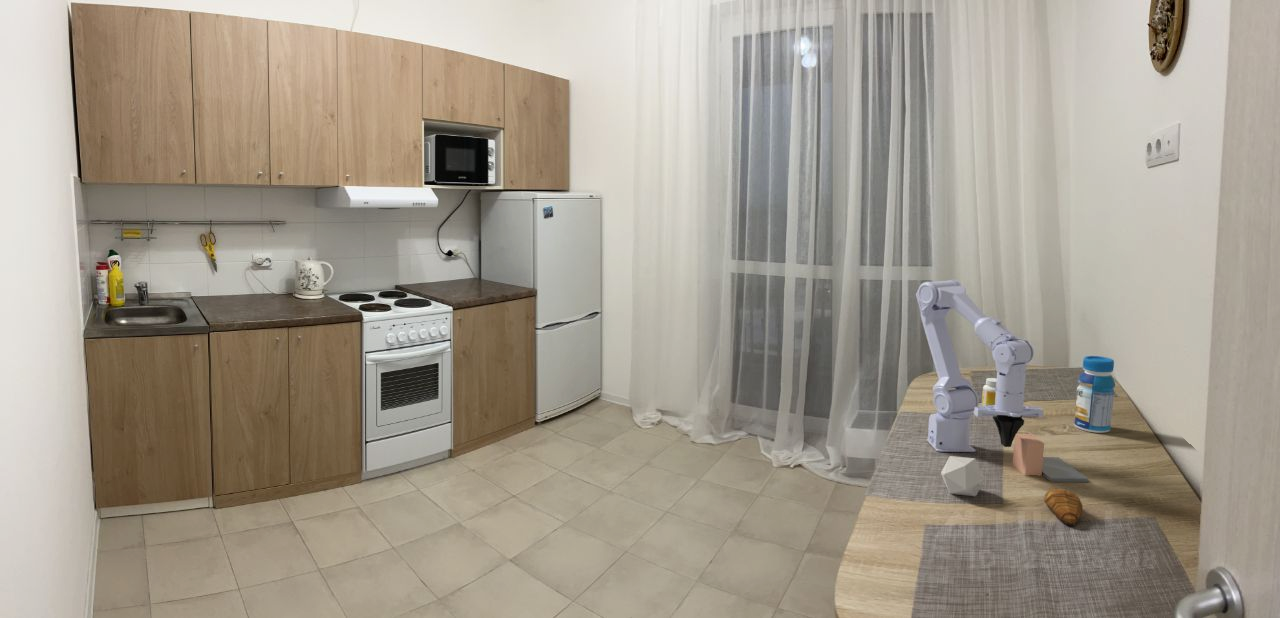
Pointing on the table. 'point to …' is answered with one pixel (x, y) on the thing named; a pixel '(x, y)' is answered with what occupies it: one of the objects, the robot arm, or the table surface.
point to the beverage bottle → (1095, 395)
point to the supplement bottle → (989, 392)
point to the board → (1060, 471)
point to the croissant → (1064, 505)
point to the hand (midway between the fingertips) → (1005, 445)
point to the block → (1028, 454)
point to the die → (962, 476)
